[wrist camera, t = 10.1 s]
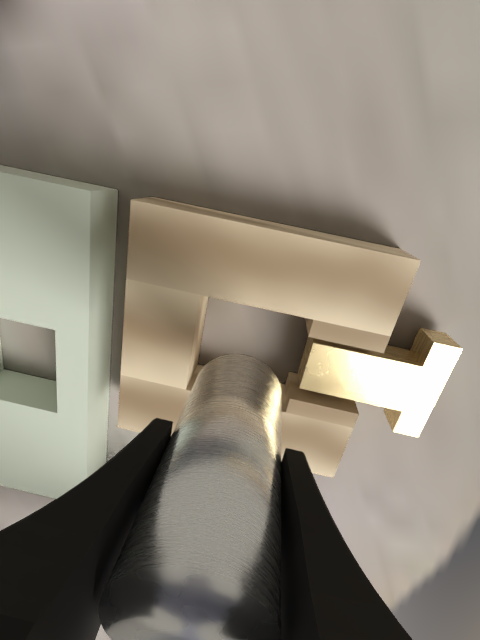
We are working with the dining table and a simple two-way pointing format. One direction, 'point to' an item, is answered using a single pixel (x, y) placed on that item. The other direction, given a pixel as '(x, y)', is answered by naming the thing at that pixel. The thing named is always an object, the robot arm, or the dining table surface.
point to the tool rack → (56, 327)
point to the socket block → (254, 290)
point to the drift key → (384, 376)
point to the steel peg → (208, 519)
